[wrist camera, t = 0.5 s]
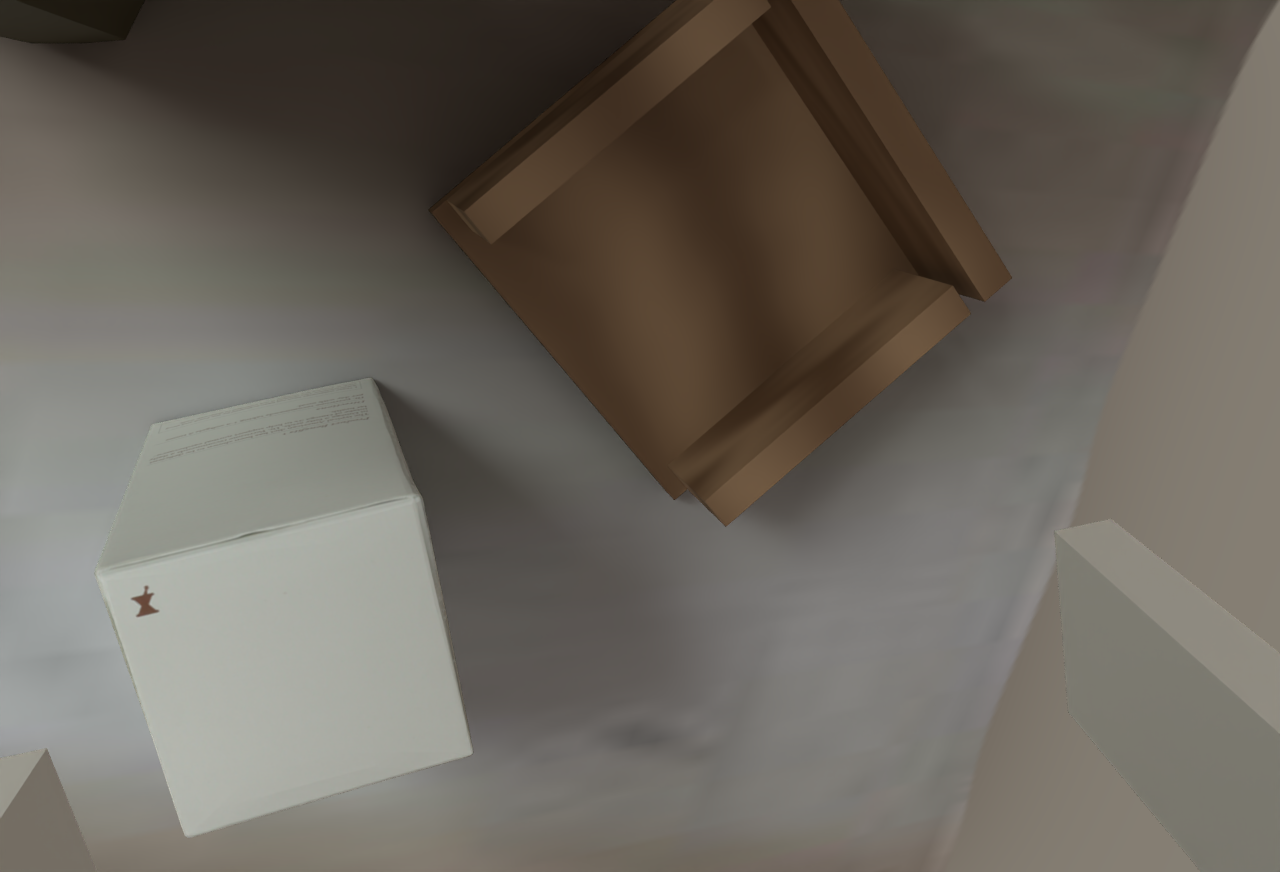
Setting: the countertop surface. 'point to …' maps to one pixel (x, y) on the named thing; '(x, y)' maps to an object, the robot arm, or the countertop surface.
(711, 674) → the countertop surface
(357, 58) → the countertop surface
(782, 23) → the u rest
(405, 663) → the supplement box
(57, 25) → the bottle
